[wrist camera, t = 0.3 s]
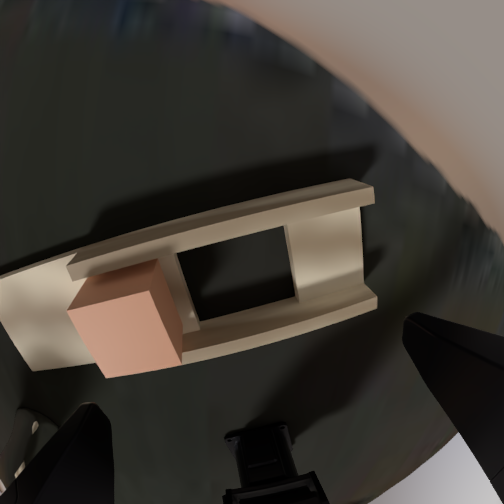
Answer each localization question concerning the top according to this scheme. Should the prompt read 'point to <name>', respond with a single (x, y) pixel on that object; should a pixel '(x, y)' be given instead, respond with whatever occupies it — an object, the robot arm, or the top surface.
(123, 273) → the block
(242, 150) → the top surface
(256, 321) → the beige open frame tray
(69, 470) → the robot arm
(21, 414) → the beer glass
